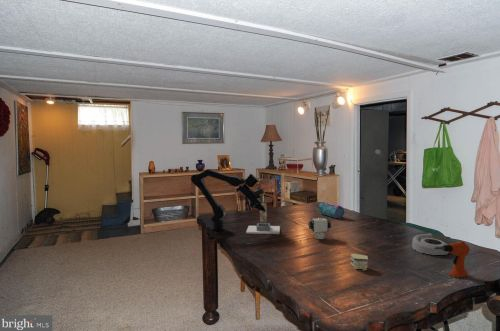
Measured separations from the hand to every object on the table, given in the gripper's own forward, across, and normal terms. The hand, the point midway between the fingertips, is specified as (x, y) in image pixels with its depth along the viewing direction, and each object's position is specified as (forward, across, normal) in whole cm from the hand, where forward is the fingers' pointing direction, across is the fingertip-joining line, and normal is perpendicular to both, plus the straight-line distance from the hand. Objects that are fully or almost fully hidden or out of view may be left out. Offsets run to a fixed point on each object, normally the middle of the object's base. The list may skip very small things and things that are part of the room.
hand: (265, 210), depth 195 cm
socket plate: (+8, 0, +10) cm, 13 cm away
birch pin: (+4, 0, +6) cm, 7 cm away
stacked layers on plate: (+40, -55, -22) cm, 72 cm away
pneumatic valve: (+31, -14, -13) cm, 36 cm away
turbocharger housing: (+68, -30, -50) cm, 90 cm away
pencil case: (+41, +40, -23) cm, 62 cm away
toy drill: (+64, -62, -46) cm, 100 cm away
